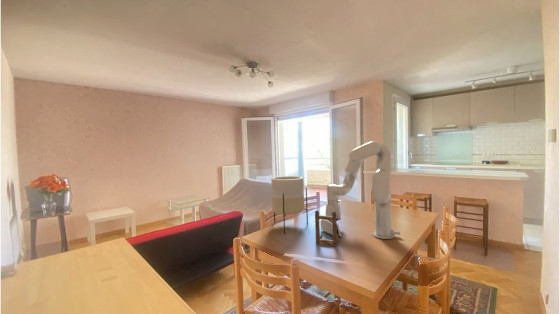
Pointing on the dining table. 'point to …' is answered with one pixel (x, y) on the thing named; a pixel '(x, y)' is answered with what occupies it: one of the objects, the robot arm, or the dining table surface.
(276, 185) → the planter
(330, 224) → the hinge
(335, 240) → the brown wooden frame
